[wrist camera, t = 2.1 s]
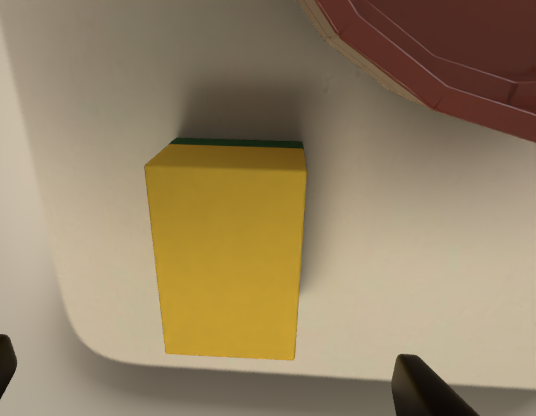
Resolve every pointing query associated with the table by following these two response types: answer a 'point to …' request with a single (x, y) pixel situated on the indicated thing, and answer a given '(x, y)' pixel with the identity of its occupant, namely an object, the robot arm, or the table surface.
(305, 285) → the table surface
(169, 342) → the sponge
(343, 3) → the wash bowl
